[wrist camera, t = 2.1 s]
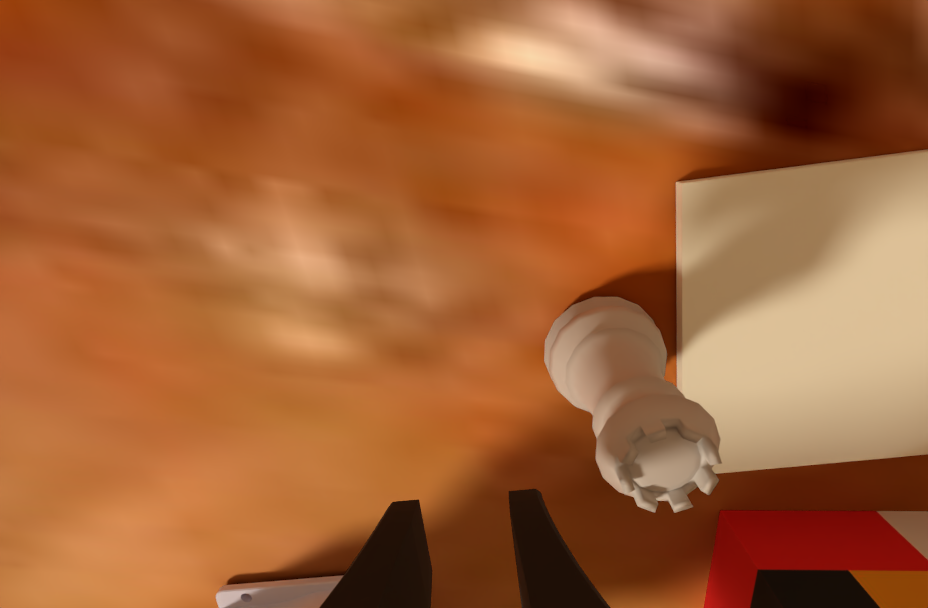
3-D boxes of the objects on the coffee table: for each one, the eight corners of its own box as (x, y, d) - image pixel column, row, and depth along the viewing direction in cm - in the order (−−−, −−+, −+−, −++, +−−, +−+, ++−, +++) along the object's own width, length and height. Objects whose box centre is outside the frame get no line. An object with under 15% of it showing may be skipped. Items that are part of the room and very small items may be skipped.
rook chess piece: (519, 360, 21) (543, 491, 13) (588, 269, 19) (657, 356, 12) (608, 415, 21) (680, 570, 14) (680, 331, 20) (802, 451, 13)
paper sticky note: (677, 467, 22) (682, 476, 21) (675, 181, 18) (682, 183, 18) (949, 442, 21) (962, 451, 21) (1004, 139, 18) (1022, 139, 17)
